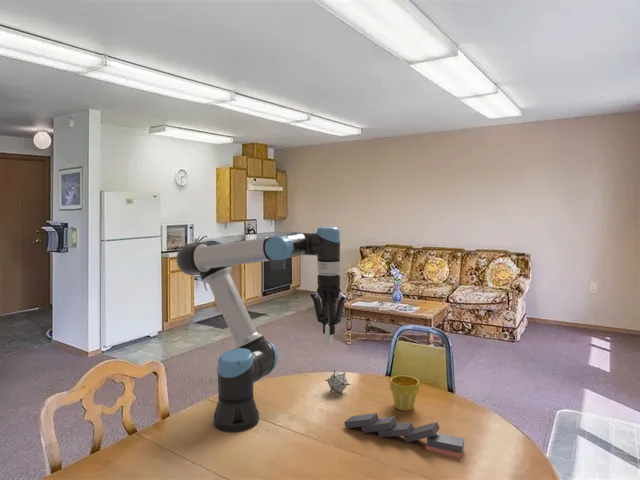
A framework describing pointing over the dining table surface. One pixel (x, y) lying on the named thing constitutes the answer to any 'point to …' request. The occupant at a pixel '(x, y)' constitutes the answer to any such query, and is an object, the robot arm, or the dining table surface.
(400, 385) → the plant pot
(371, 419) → the domino
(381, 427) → the domino
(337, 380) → the game die
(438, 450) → the domino
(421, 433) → the domino
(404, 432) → the domino
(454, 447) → the domino
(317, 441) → the dining table surface
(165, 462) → the dining table surface
